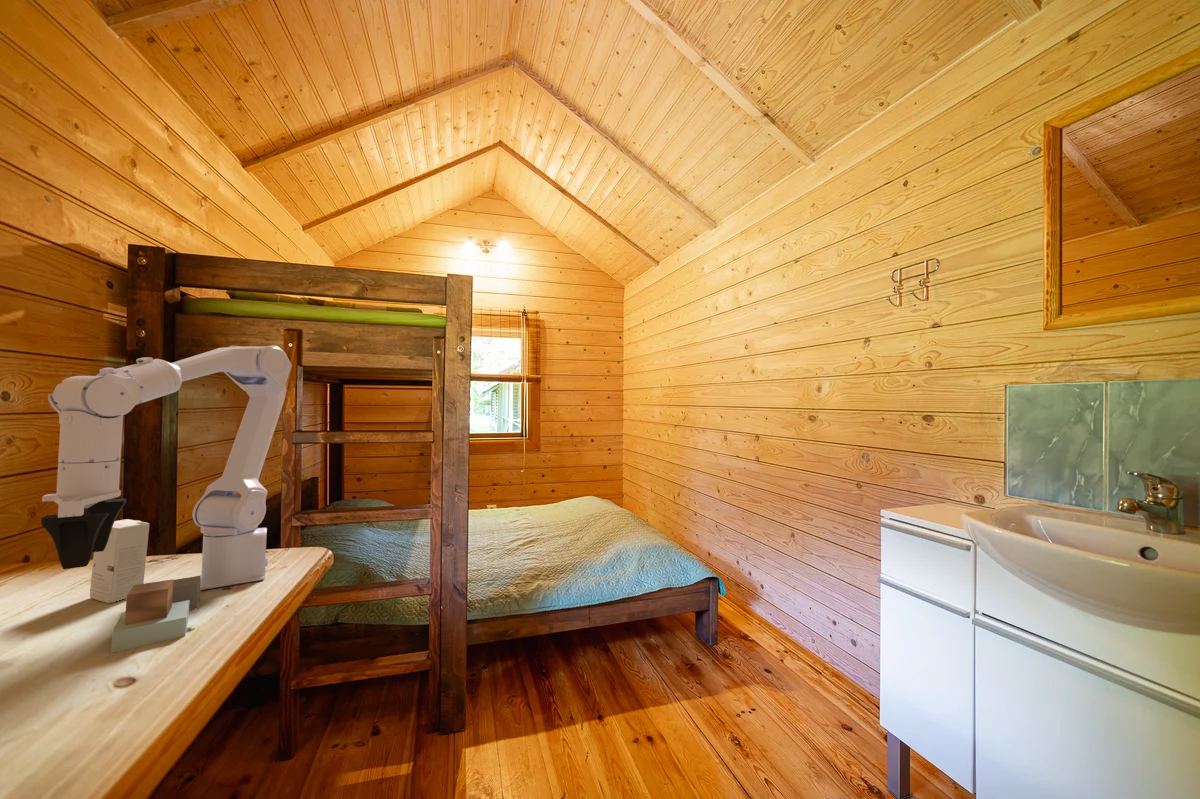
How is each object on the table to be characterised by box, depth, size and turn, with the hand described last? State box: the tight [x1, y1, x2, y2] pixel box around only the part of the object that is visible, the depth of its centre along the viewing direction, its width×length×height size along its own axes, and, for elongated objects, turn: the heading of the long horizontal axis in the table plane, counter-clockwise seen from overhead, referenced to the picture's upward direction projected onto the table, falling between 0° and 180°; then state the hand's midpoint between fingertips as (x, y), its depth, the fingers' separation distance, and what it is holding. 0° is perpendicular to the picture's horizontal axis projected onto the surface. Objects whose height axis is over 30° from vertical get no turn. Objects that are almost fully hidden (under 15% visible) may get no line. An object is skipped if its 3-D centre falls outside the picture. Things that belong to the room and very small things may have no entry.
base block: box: [110, 600, 190, 654], centre depth 62 cm, size 7×7×3 cm
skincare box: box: [89, 518, 150, 604], centre depth 73 cm, size 6×4×12 cm
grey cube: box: [172, 575, 201, 611], centre depth 70 cm, size 4×4×4 cm
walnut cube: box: [125, 579, 174, 625], centre depth 61 cm, size 4×4×4 cm
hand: (84, 559), depth 61 cm, fingers open, 7 cm apart
